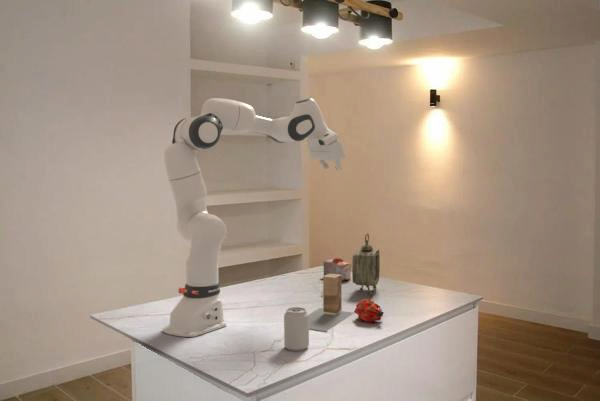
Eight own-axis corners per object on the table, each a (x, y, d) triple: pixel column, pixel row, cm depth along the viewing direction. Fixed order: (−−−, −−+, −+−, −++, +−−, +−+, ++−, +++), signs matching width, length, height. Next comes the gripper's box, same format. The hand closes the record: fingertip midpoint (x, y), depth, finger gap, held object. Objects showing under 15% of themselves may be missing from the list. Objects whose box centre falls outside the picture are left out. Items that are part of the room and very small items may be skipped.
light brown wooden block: (335, 315, 204) (335, 277, 203) (323, 313, 206) (323, 276, 205) (341, 312, 208) (341, 274, 207) (329, 310, 210) (329, 273, 209)
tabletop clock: (373, 296, 231) (373, 236, 229) (351, 295, 234) (351, 235, 232) (379, 288, 245) (379, 231, 243) (359, 287, 248) (359, 230, 245)
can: (308, 343, 176) (308, 305, 175) (309, 351, 169) (309, 312, 168) (284, 343, 176) (283, 306, 175) (284, 352, 168) (284, 313, 167)
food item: (353, 279, 262) (354, 259, 261) (342, 282, 256) (342, 261, 256) (332, 275, 272) (332, 255, 271) (320, 278, 266) (320, 257, 265)
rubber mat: (326, 332, 186) (326, 331, 186) (289, 326, 193) (289, 325, 193) (354, 313, 207) (354, 312, 207) (320, 308, 214) (320, 307, 214)
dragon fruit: (357, 321, 204) (381, 334, 194) (344, 311, 199) (368, 324, 189) (369, 300, 205) (393, 313, 196) (357, 290, 200) (381, 302, 191)
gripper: (300, 141, 226) (313, 171, 231) (327, 141, 209) (340, 174, 213) (312, 133, 229) (324, 164, 233) (340, 133, 211) (353, 166, 216)
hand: (332, 168), depth 223 cm, fingers open, 8 cm apart
